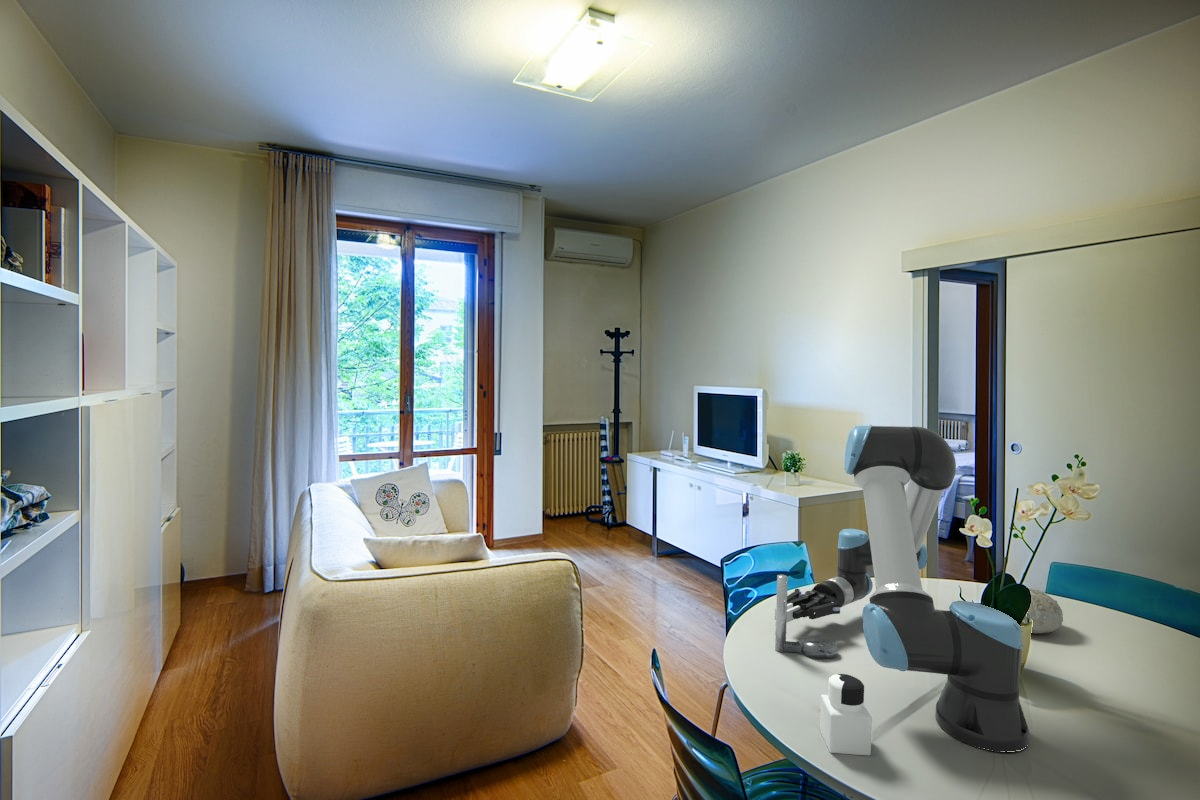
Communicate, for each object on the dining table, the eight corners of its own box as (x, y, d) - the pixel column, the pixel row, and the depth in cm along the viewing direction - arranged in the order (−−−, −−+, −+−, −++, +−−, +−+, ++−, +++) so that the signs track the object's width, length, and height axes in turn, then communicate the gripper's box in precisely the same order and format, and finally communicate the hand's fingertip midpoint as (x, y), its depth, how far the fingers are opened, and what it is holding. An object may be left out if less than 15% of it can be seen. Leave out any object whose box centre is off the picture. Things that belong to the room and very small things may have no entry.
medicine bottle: (858, 732, 113) (860, 670, 113) (871, 756, 106) (873, 690, 106) (819, 729, 114) (821, 668, 114) (829, 753, 107) (831, 688, 106)
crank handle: (832, 647, 146) (835, 574, 145) (840, 660, 139) (843, 584, 138) (772, 643, 148) (774, 571, 147) (777, 656, 141) (779, 581, 140)
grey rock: (979, 627, 162) (980, 591, 161) (985, 607, 176) (986, 574, 176) (1062, 646, 151) (1064, 608, 151) (1061, 623, 165) (1063, 588, 165)
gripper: (857, 617, 155) (805, 642, 140) (807, 599, 166) (754, 621, 151) (858, 588, 154) (806, 610, 140) (808, 573, 166) (755, 592, 151)
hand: (779, 616), depth 146 cm, fingers closed
